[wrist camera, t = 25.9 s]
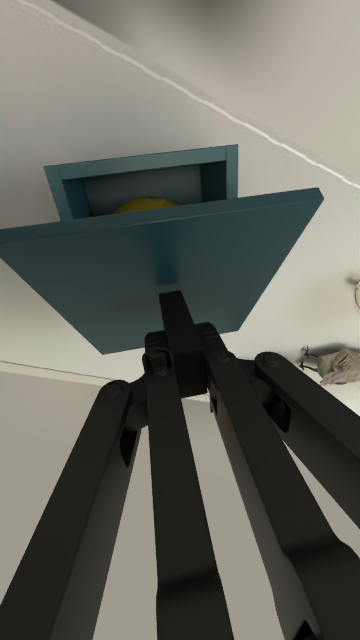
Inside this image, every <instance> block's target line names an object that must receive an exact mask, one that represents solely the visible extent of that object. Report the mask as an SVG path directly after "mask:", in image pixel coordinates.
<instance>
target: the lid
mask: <svg viewBox="0 0 360 640" xmlns="http://www.w3.org/2000/svg"><path fill="white" fill-rule="evenodd" d="M323 200H324V197H323V195H322V193H321V192H320V190H319V188H309V189H302V190H294V191H287V192H279V193H272V194H264V195H256V196H249V197H241V198H234V199H226V200H219V201H211V202H203V203H196V204H188V205H181V206H173V207H166V208H158V209H150V210H143V211H135V212H128V213H120V214H113V215H105V216H97V217H90V218H82V219H75V220H67V221H60V222H52V223H44V224H37V225H29V226H22V227H14V228H7V229H0V258H1V259H2V260H3V261H5V262H6V263H7V264H8V265H9V266H10V267H11V268H12V269H13V270H14V271H15V272H16V273H17V274H18V275H19V276H20V277H21V278H22V279H23V280H25V281H26V282H27V283H28V284H29V285H30V286H31V287H32V288H33V289H34V290H35V291H36V292H37V293H38V294H39V295H40V296H41V297H42V298H43V299H44V300H46V301H47V302H48V303H49V304H50V305H51V306H52V307H53V308H54V309H55V310H56V311H57V312H58V313H59V314H60V315H61V316H62V317H63V318H64V319H65V320H67V321H68V322H69V323H70V324H71V325H72V326H73V327H74V328H75V329H76V330H77V331H78V332H79V333H80V334H81V335H82V336H83V337H84V338H85V339H87V340H88V341H89V342H90V343H91V344H92V345H93V346H94V347H95V348H96V349H97V350H98V351H99V352H100V353H101V354H102V355H104V354H110V353H116V352H121V351H127V350H132V349H138V348H144V347H145V341H144V338H145V337H146V335H147V333H149V332H155V331H161V330H164V327H163V321H162V314H161V308H160V302H159V295H158V294H160V293H166V292H172V291H179V290H181V292H182V294H183V297H184V299H185V302H186V304H187V307H188V309H189V312H190V314H191V317H192V319H193V321H194V324H198V323H204V322H210V323H211V324H213V325H214V326H215V328H216V329H217V332H218V333H219V334H223V333H228V332H234V331H238V330H239V329H240V327H241V326H242V324H243V322H244V321H245V319H246V318H247V316H248V315H249V313H250V312H251V310H252V309H253V307H254V306H255V304H256V303H257V301H258V300H259V298H260V296H261V295H262V293H263V292H264V290H265V289H266V287H267V286H268V284H269V283H270V281H271V280H272V278H273V277H274V275H275V274H276V272H277V270H278V269H279V267H280V266H281V264H282V263H283V261H284V260H285V258H286V257H287V255H288V254H289V252H290V251H291V249H292V248H293V246H294V244H295V243H296V241H297V240H298V238H299V237H300V235H301V234H302V232H303V231H304V229H305V228H306V226H307V225H308V223H309V222H310V220H311V219H312V217H313V215H314V214H315V212H316V211H317V209H318V208H319V206H320V205H321V203H322V202H323Z"/></svg>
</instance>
